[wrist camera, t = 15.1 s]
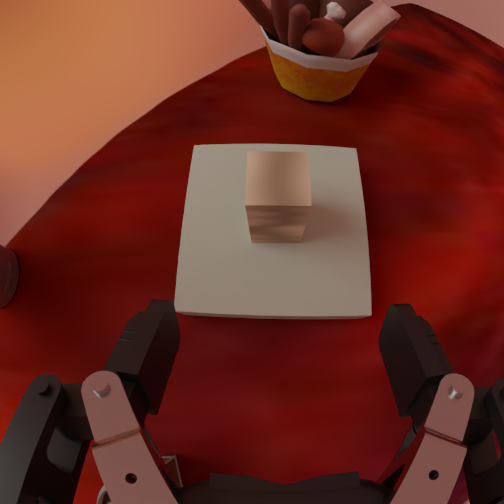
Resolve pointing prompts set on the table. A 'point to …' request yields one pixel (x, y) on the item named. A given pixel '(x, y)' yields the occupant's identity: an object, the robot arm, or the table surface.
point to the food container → (171, 463)
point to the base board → (273, 254)
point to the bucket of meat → (321, 42)
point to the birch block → (277, 196)
